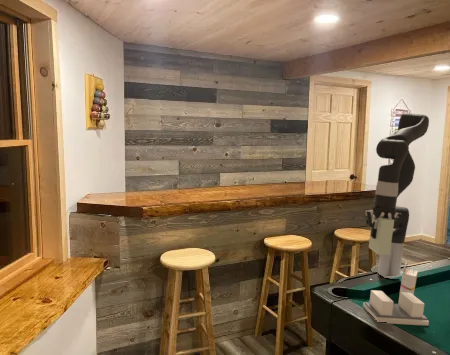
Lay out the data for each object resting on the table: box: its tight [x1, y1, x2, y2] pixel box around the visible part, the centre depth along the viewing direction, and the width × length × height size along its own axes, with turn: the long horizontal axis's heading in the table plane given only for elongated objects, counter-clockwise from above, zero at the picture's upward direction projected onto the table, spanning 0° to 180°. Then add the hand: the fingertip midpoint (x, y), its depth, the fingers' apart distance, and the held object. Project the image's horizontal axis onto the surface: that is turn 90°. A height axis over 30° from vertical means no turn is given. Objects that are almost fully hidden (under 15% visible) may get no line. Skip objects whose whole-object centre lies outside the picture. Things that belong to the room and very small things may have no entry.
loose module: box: [368, 214, 394, 255], centre depth 138 cm, size 8×4×13 cm, turn 2°
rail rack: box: [362, 289, 430, 326], centre depth 133 cm, size 12×18×7 cm, turn 92°
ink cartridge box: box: [398, 261, 418, 297], centre depth 147 cm, size 9×5×15 cm, turn 149°
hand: (380, 238), depth 139 cm, fingers closed on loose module, 4 cm apart
